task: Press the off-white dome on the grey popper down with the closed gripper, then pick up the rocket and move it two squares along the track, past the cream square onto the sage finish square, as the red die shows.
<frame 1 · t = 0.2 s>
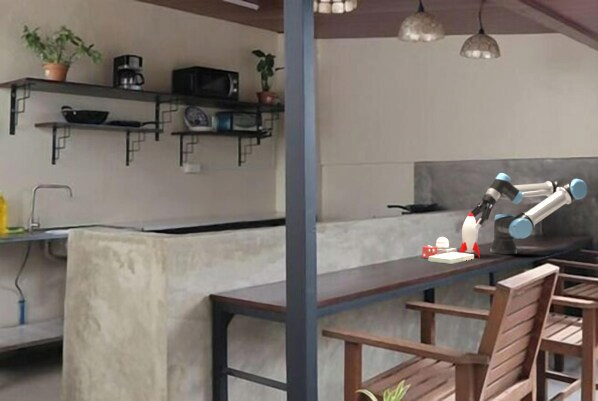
hand: (470, 228, 364), 16 cm above the table, tool tilted 35°, fingers open, 13 cm apart
rocket: (469, 256, 364), on the table
dome: (442, 243, 366), point 7 cm above the table, slide at 0.0 cm
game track: (451, 260, 348), on the table
red die: (429, 257, 356), on the table
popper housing: (442, 255, 367), on the table
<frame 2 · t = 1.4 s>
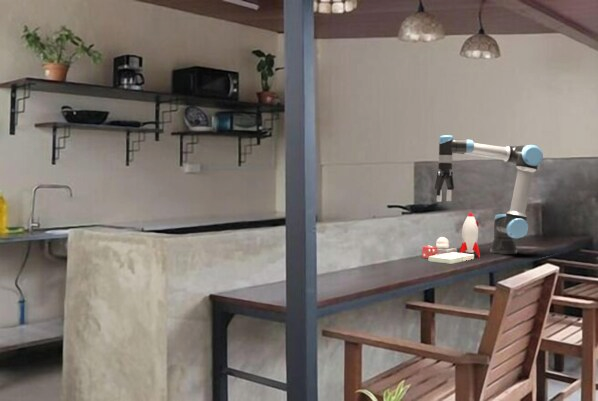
hand: (443, 201, 365), 31 cm above the table, tool pointing down, fingers open, 11 cm apart
nothing on the table moved.
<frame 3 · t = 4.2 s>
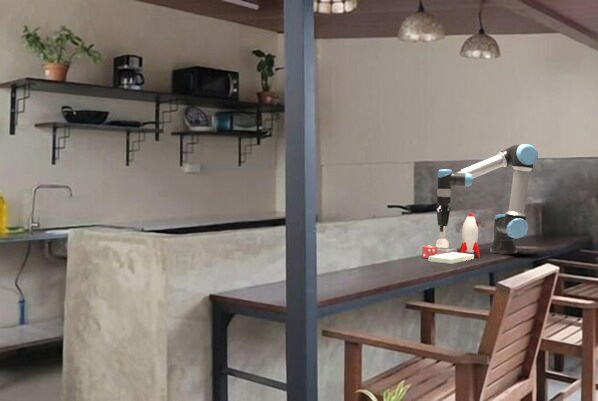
hand: (442, 237, 366), 10 cm above the table, tool pointing down, fingers closed
dome: (442, 244, 366), point 6 cm above the table, slide at 0.5 cm, touching gripper
everything else where it was.
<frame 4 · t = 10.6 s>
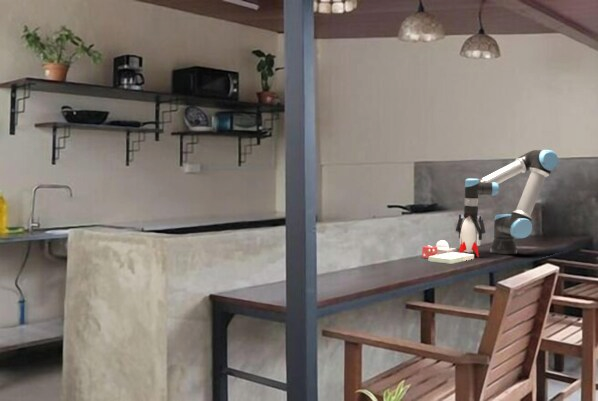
hand: (469, 244, 364), 7 cm above the table, tool pointing down, fingers closed on rocket, 10 cm apart
rocket: (468, 256, 365), on the table, touching gripper
dome: (442, 246, 367), point 5 cm above the table, slide at 1.9 cm
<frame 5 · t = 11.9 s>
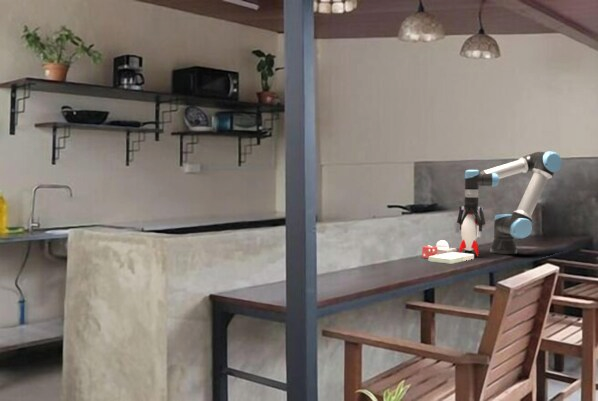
hand: (470, 236, 364), 11 cm above the table, tool pointing down, fingers open, 9 cm apart
rocket: (468, 254, 365), point 1 cm above the table, touching gripper
everything else where it was.
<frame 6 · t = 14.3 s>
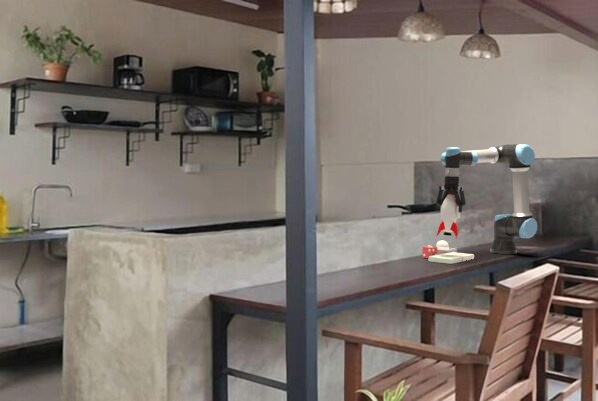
hand: (450, 217, 345), 23 cm above the table, tool pointing down
rocket: (447, 237, 347), point 13 cm above the table, touching gripper
everything else where it was.
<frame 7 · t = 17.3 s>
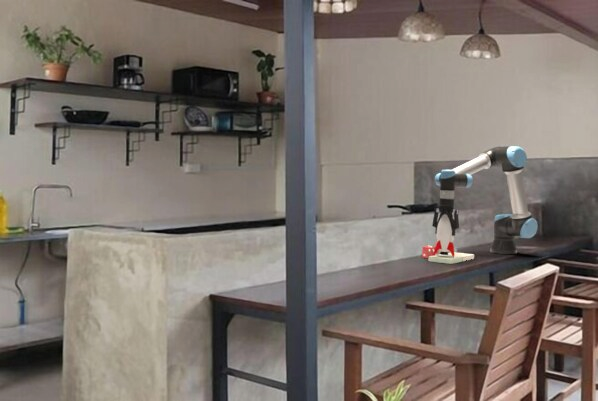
hand: (444, 240, 343), 11 cm above the table, tool pointing down, fingers closed on rocket, 7 cm apart
rocket: (443, 256, 344), point 3 cm above the table, touching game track, gripper
everything else where it was.
when the fingers open (11 cm above the table, at t = 17.3 s): rocket stays where it is, resting on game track.
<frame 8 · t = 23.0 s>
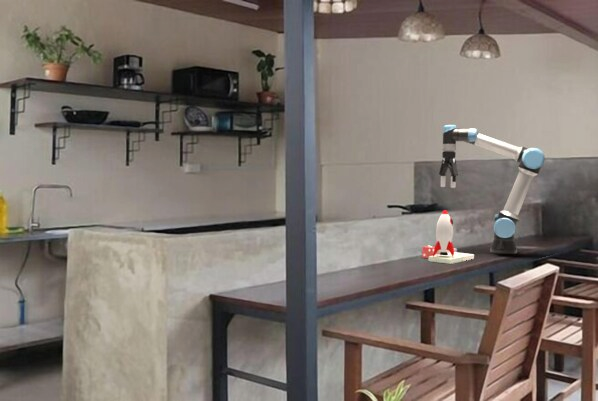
hand: (447, 187, 379), 39 cm above the table, tool pointing down, fingers open, 13 cm apart
rocket: (443, 256, 344), point 2 cm above the table, touching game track
everything else where it was.
at the end: rocket inside the target area (1.1 cm from its centre), point 2.3 cm above the table; rocket tilted 0°; dome slide at 1.9 cm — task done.
